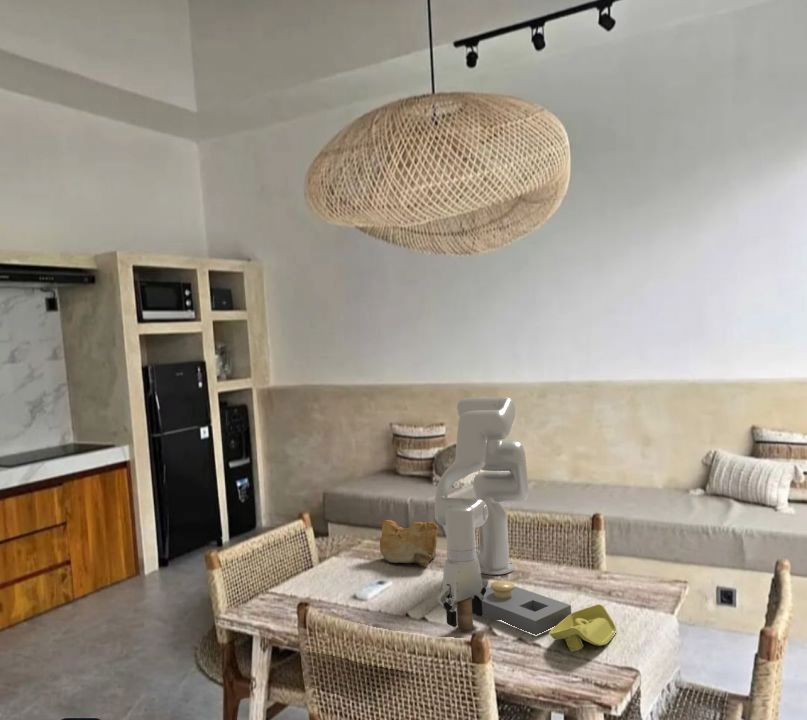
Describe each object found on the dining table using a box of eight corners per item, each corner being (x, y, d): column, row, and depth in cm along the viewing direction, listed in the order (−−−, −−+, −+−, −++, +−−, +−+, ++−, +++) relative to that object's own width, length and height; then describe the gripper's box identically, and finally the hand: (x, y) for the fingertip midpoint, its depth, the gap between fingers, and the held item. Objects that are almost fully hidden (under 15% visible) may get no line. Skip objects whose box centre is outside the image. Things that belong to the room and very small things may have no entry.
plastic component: (571, 612, 174) (605, 601, 169) (584, 641, 172) (618, 630, 167) (542, 636, 158) (579, 625, 153) (556, 668, 156) (594, 657, 151)
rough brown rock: (459, 562, 228) (458, 517, 229) (430, 572, 215) (428, 525, 216) (406, 553, 243) (405, 511, 244) (375, 562, 230) (375, 518, 231)
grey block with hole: (468, 609, 185) (467, 585, 185) (503, 595, 194) (502, 572, 193) (536, 636, 166) (534, 609, 166) (571, 620, 175) (570, 594, 175)
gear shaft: (454, 628, 173) (453, 597, 173) (465, 623, 176) (464, 593, 176) (465, 633, 170) (463, 602, 170) (476, 628, 173) (474, 597, 173)
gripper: (475, 543, 181) (478, 606, 181) (426, 558, 170) (430, 625, 171) (495, 549, 175) (498, 614, 175) (446, 565, 164) (449, 635, 165)
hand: (464, 620), depth 173 cm, fingers open, 8 cm apart
